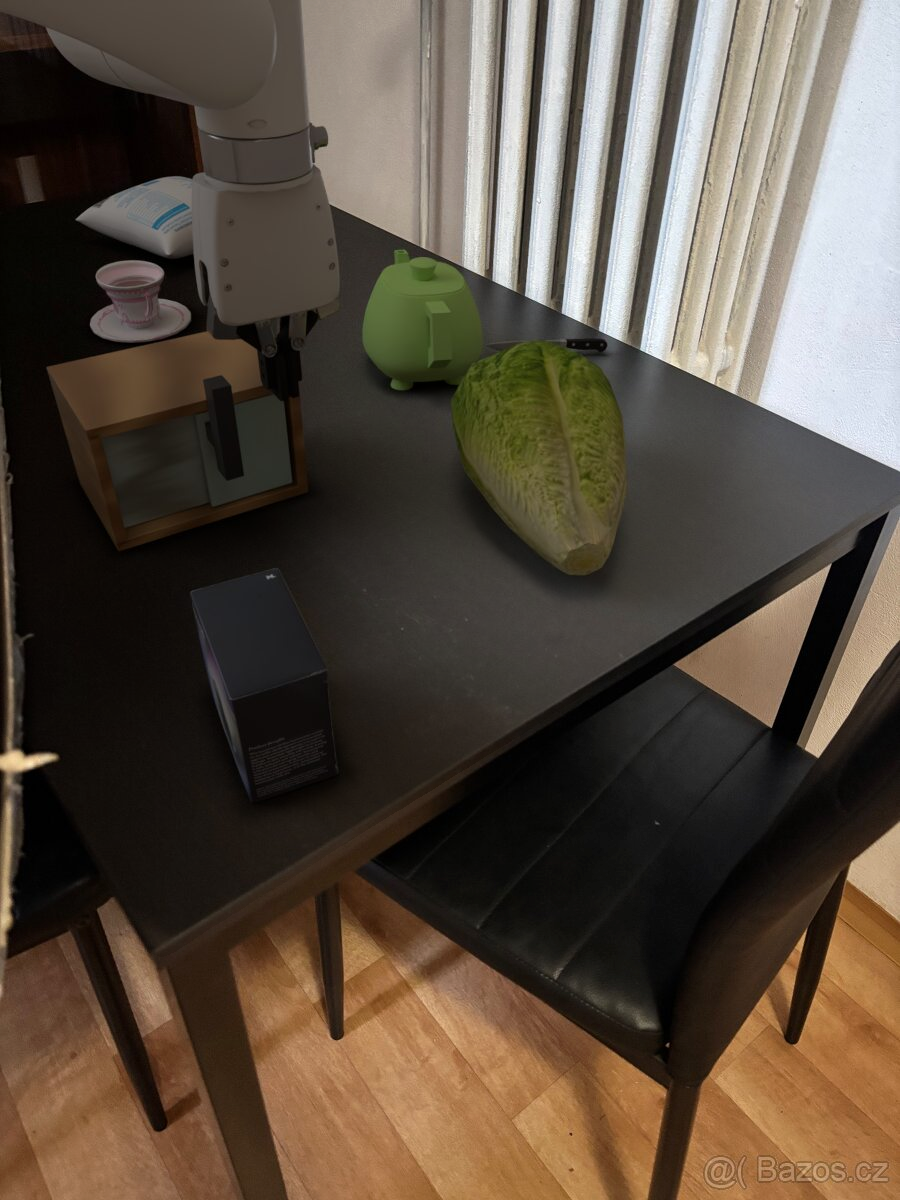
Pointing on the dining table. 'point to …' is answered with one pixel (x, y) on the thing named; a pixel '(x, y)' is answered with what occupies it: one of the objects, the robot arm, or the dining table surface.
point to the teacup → (136, 304)
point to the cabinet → (159, 433)
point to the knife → (569, 343)
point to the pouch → (148, 217)
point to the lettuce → (546, 450)
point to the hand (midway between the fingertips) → (282, 391)
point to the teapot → (422, 323)
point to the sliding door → (242, 443)
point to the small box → (266, 683)
